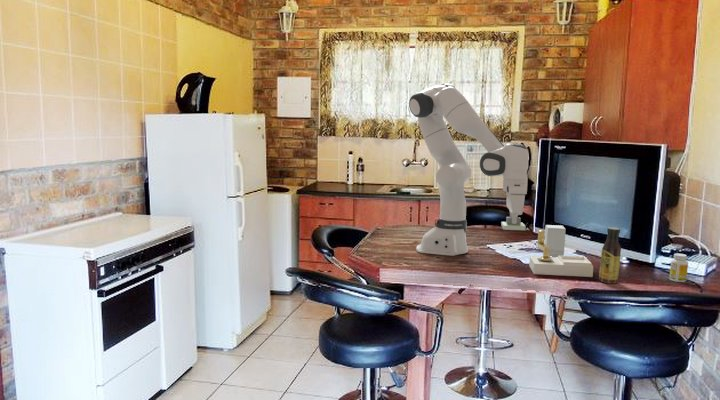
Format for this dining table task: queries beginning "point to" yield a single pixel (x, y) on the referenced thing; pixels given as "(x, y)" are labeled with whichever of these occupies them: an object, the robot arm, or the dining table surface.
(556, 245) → the supplement box
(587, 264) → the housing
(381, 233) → the dining table surface
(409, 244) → the dining table surface
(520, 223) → the sage cover
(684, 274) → the supplement bottle
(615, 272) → the sauce bottle
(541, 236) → the brass crank key
